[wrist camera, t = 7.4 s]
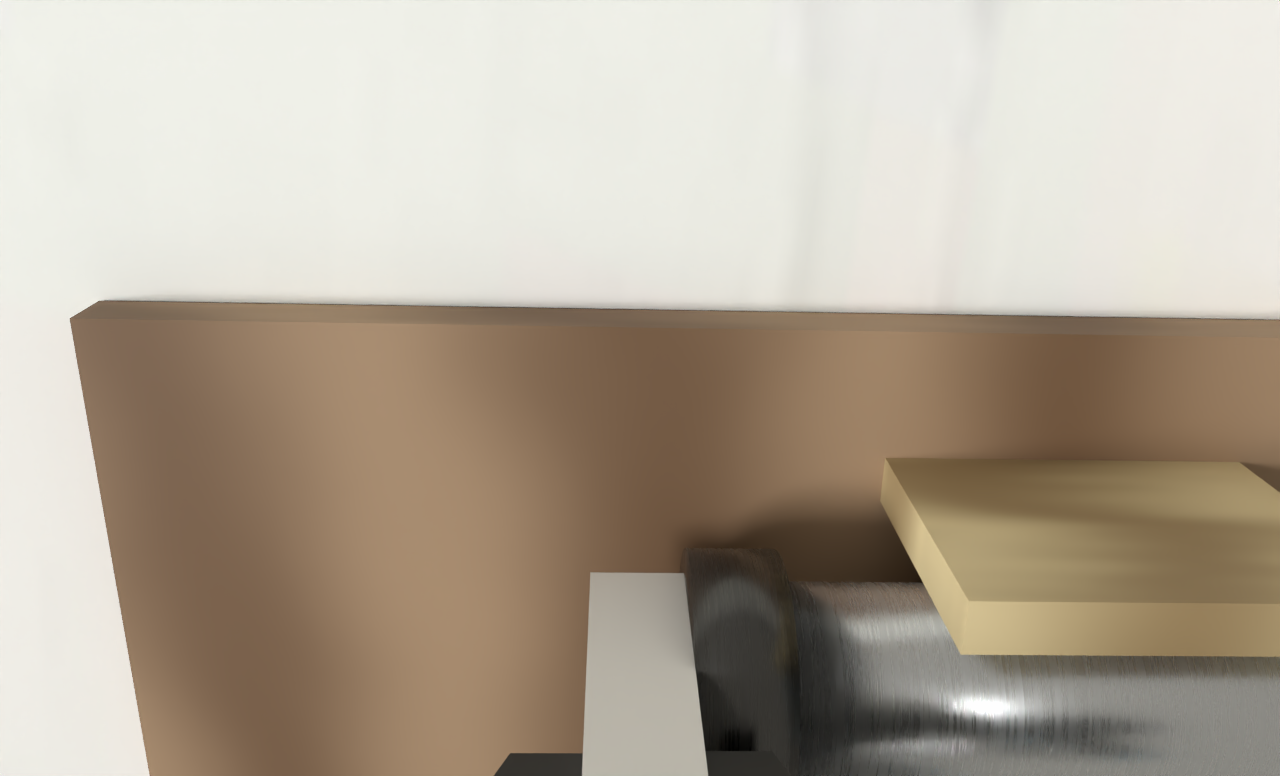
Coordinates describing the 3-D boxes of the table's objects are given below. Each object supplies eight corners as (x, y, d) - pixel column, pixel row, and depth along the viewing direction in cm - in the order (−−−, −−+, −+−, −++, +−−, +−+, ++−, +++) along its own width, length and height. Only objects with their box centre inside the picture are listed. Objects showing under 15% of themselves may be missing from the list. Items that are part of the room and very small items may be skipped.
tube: (672, 712, 19) (688, 901, 15) (681, 501, 17) (701, 650, 13) (1668, 716, 19) (1938, 901, 15) (1759, 513, 18) (2084, 659, 14)
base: (179, 788, 21) (-68, 1238, 13) (99, 300, 17) (-299, 536, 10) (1650, 792, 22) (2200, 1215, 14) (1860, 329, 18) (2741, 566, 11)
